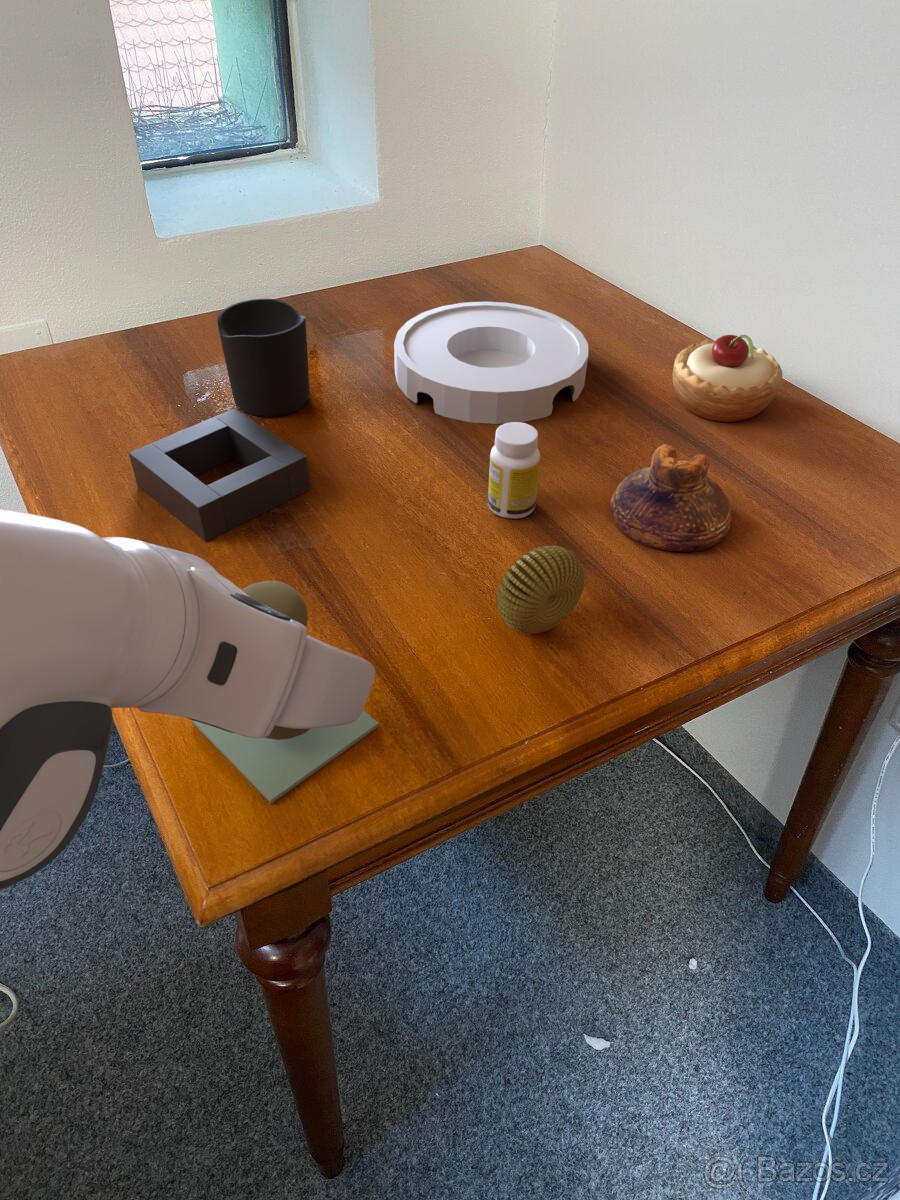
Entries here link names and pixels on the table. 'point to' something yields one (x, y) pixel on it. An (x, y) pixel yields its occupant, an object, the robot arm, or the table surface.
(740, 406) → the pastry
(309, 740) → the mat
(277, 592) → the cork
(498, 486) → the supplement bottle
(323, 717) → the robot arm
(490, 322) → the ashtray
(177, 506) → the holder stand
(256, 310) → the pen holder
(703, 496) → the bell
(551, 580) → the sculpture
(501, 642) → the table surface
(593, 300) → the table surface
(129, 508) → the table surface
